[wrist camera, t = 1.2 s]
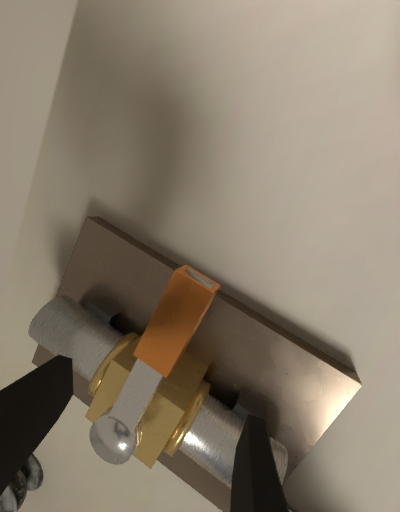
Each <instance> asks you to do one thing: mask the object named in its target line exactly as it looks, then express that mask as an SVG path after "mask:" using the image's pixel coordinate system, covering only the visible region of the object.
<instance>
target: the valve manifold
mask: <svg viewBox="0 0 400 512" xmlns="http://www.w3.org/2000/svg"><path fill="white" fill-rule="evenodd" d="M178 268H180V266H179V265H177V264H175V263H174V262H172V261H170V260H169V259H167V258H165V257H164V256H162V255H160V254H159V253H157V252H155V251H154V250H152V249H151V248H149V247H147V246H146V245H144V244H142V243H141V242H139V241H137V240H136V239H134V238H132V237H131V236H129V235H127V234H126V233H124V232H122V231H121V230H119V229H117V228H116V227H114V226H112V225H111V224H109V223H108V222H106V221H104V220H103V219H101V218H99V217H86V219H85V222H84V225H83V227H82V230H81V233H80V235H79V238H78V241H77V243H76V246H75V249H74V251H73V254H72V257H71V259H70V262H69V264H68V267H67V270H66V272H65V275H64V278H63V280H62V283H61V286H60V288H59V291H58V294H57V296H56V298H54V299H53V300H51V301H50V302H48V303H47V304H46V305H45V306H43V307H42V308H41V309H40V311H39V312H38V313H37V314H36V315H35V317H34V318H33V320H32V322H31V324H30V327H29V336H30V337H31V338H32V339H34V340H35V341H36V342H38V343H39V344H38V347H37V349H36V352H35V355H34V357H33V360H32V363H33V364H35V365H36V366H37V367H39V366H41V365H42V364H44V363H46V362H47V361H49V360H50V359H52V358H54V357H55V356H57V355H62V356H66V357H69V358H72V363H73V392H74V394H73V395H74V396H76V397H77V398H78V399H80V400H81V401H82V402H83V403H85V404H86V405H87V406H89V409H88V411H87V413H86V416H85V417H86V418H87V419H88V420H90V421H91V422H92V423H93V424H94V422H95V421H96V420H97V419H98V418H99V417H100V416H101V415H102V414H103V413H104V412H105V411H106V410H107V409H108V408H109V407H111V406H114V404H115V402H116V400H117V398H118V396H119V394H120V392H121V390H122V388H123V386H124V384H125V382H126V380H127V378H128V376H129V374H130V372H131V370H132V368H133V367H134V365H135V363H136V361H137V359H138V358H137V357H136V356H134V355H133V354H134V352H135V350H136V348H137V346H138V343H139V341H140V339H141V337H142V335H143V333H144V331H145V329H146V327H147V325H148V323H149V321H150V319H151V317H152V315H153V313H154V311H155V309H156V307H157V305H158V303H159V301H160V299H161V297H162V295H163V293H164V291H165V289H166V287H167V285H168V283H169V281H170V279H171V277H172V275H173V273H174V271H175V270H176V269H178ZM361 386H362V384H361V381H360V379H359V377H358V375H357V373H356V372H354V371H352V370H351V369H349V368H347V367H346V366H344V365H342V364H341V363H339V362H337V361H336V360H334V359H333V358H331V357H329V356H328V355H326V354H324V353H323V352H321V351H319V350H318V349H316V348H314V347H313V346H311V345H309V344H308V343H306V342H304V341H303V340H301V339H299V338H298V337H296V336H294V335H293V334H291V333H289V332H288V331H286V330H285V329H283V328H281V327H280V326H278V325H276V324H275V323H273V322H271V321H270V320H268V319H266V318H265V317H263V316H261V315H260V314H258V313H256V312H255V311H253V310H251V309H250V308H248V307H246V306H245V305H243V304H242V303H240V302H238V301H237V300H235V299H233V298H232V297H230V296H228V295H227V294H225V293H223V292H222V291H220V290H218V292H217V293H216V295H215V297H214V299H213V301H212V302H211V304H210V306H209V308H208V310H207V311H206V313H205V315H204V317H203V318H202V320H201V322H200V324H199V326H198V327H197V329H196V331H195V333H194V335H193V336H192V338H191V340H190V342H189V344H188V345H187V347H186V349H185V351H184V353H183V354H182V356H181V358H180V360H179V362H178V363H177V365H176V366H175V367H174V369H173V370H172V371H171V373H170V374H169V375H168V377H167V378H165V377H164V378H163V380H162V382H161V384H160V386H159V388H158V389H157V391H156V393H155V395H154V397H153V398H152V400H151V402H150V404H149V406H148V407H147V409H146V411H145V413H144V415H143V417H142V418H141V420H140V423H141V425H142V430H143V435H142V439H141V441H140V443H139V444H138V446H137V447H136V449H135V450H134V452H133V455H134V456H135V457H136V458H138V459H139V460H140V461H141V462H143V463H144V464H145V465H146V466H148V467H149V468H150V469H151V468H152V466H153V464H154V463H155V461H156V459H157V460H158V461H159V462H160V463H162V464H163V465H164V466H166V467H167V468H168V469H169V470H171V471H172V472H173V473H174V474H176V475H177V476H178V477H180V478H181V479H182V480H183V481H185V482H186V483H187V484H189V485H190V486H191V487H192V488H194V489H195V490H196V491H198V492H199V493H200V494H201V495H203V496H204V497H205V498H207V499H208V500H209V501H210V502H212V503H213V504H214V505H216V506H217V507H218V508H219V509H221V510H222V511H223V512H230V502H231V482H232V473H233V465H234V458H235V451H236V446H237V443H238V440H239V438H240V435H241V432H242V429H243V427H244V424H245V421H246V418H247V415H248V414H250V415H253V416H257V417H260V418H263V419H265V421H266V422H267V428H268V433H269V438H270V443H271V447H272V451H273V455H274V459H275V463H276V467H277V471H278V475H279V478H280V481H281V485H282V484H283V482H284V481H285V480H286V479H287V478H288V476H289V475H290V474H291V473H292V471H293V470H294V469H295V468H296V466H297V465H298V464H299V463H300V461H301V460H302V459H303V458H304V456H305V455H306V454H307V453H308V452H309V450H310V449H311V448H312V447H313V445H314V444H315V443H316V442H317V440H318V439H319V438H320V437H321V435H322V434H323V433H324V432H325V430H326V429H327V428H328V427H329V426H330V424H331V423H332V422H333V421H334V419H335V418H336V417H337V416H338V414H339V413H340V412H341V411H342V409H343V408H344V407H345V406H346V404H347V403H348V402H349V401H350V400H351V398H352V397H353V396H354V395H355V393H356V392H357V391H358V390H359V388H360V387H361Z"/></svg>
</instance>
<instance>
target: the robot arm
mask: <svg viewBox="0 0 400 512" xmlns="http://www.w3.org/2000/svg"><path fill="white" fill-rule="evenodd" d="M73 394H74V392H73V363H72V358H69V357H66V356H62V355H57V356H55V357H54V358H52V359H50V360H49V361H47V362H46V363H44V364H42V365H41V366H39V367H38V368H36V369H35V370H33V371H31V372H30V373H28V374H27V375H25V376H23V377H22V378H20V379H19V380H17V381H15V382H14V383H12V384H10V385H9V386H7V387H5V388H4V389H2V390H0V496H1V495H2V493H3V492H4V490H5V489H6V488H7V486H8V485H9V483H10V482H11V481H12V479H13V478H14V477H15V475H16V474H17V473H18V471H19V470H20V469H21V467H22V466H23V465H24V464H25V462H26V461H27V460H28V458H29V457H30V456H31V454H32V453H33V452H34V450H35V449H36V448H37V447H38V445H39V444H40V443H41V441H42V440H43V439H44V437H45V436H46V435H47V433H48V432H49V431H50V429H51V428H52V427H53V425H54V424H55V423H56V421H57V420H58V419H59V417H60V415H61V414H62V412H63V411H64V409H65V407H66V406H67V404H68V402H69V401H70V399H71V397H72V396H73ZM230 512H292V511H291V510H290V509H289V508H288V505H287V502H286V499H285V495H284V492H283V488H282V485H281V481H280V478H279V475H278V471H277V467H276V463H275V459H274V455H273V451H272V447H271V443H270V438H269V433H268V428H267V422H266V421H265V419H263V418H260V417H257V416H253V415H250V414H248V415H247V418H246V421H245V424H244V427H243V429H242V432H241V435H240V438H239V440H238V443H237V446H236V451H235V458H234V465H233V473H232V482H231V502H230Z"/></svg>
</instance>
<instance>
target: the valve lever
mask: <svg viewBox="0 0 400 512" xmlns="http://www.w3.org/2000/svg"><path fill="white" fill-rule="evenodd" d="M220 286H221V285H220V284H218V283H216V282H215V281H213V280H211V279H210V278H208V277H206V276H205V275H203V274H201V273H200V272H198V271H196V270H195V269H193V268H191V267H190V266H188V265H184V266H182V267H180V268H178V269H176V270H175V271H174V273H173V275H172V277H171V279H170V281H169V283H168V285H167V287H166V289H165V291H164V293H163V295H162V297H161V299H160V301H159V303H158V305H157V307H156V309H155V311H154V313H153V315H152V317H151V319H150V321H149V323H148V325H147V327H146V329H145V331H144V333H143V335H142V337H141V339H140V341H139V343H138V346H137V348H136V350H135V352H134V354H133V355H134V356H136V357H137V358H138V359H137V361H136V363H135V365H134V367H133V368H132V370H131V372H130V374H129V376H128V378H127V380H126V382H125V384H124V386H123V388H122V390H121V392H120V394H119V396H118V398H117V400H116V402H115V404H114V406H111V407H109V408H108V409H107V410H106V411H105V412H104V413H103V414H102V415H101V416H100V417H99V418H98V419H97V420H96V421H95V422H94V424H93V425H92V426H91V429H90V441H91V444H92V447H93V449H94V450H95V452H96V453H97V454H98V455H99V456H100V457H101V458H102V459H103V460H105V461H106V462H109V463H111V464H123V463H125V462H126V461H128V460H129V458H130V457H131V455H132V454H133V452H134V450H135V449H136V447H137V446H138V444H139V443H140V441H141V439H142V435H143V430H142V425H141V423H140V420H141V418H142V417H143V415H144V413H145V411H146V409H147V407H148V406H149V404H150V402H151V400H152V398H153V397H154V395H155V393H156V391H157V389H158V388H159V386H160V384H161V382H162V380H163V378H164V377H165V378H167V377H168V375H169V374H170V373H171V371H172V370H173V369H174V367H175V366H176V365H177V363H178V362H179V360H180V358H181V356H182V354H183V353H184V351H185V349H186V347H187V345H188V344H189V342H190V340H191V338H192V336H193V335H194V333H195V331H196V329H197V327H198V326H199V324H200V322H201V320H202V318H203V317H204V315H205V313H206V311H207V310H208V308H209V306H210V304H211V302H212V301H213V299H214V297H215V295H216V293H217V292H218V290H219V288H220Z"/></svg>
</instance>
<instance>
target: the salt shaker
mask: <svg viewBox="0 0 400 512" xmlns="http://www.w3.org/2000/svg"><path fill="white" fill-rule="evenodd" d="M42 482H43V471H42V468H41V465H40V464H39V462H38V460H37V459H36V458H35V456H34V455H33V454H31V456H30V457H29V458H28V460H27V461H26V462H25V464H24V465H23V466H22V467H21V469H20V470H19V471H18V473H17V474H16V475H15V477H14V478H13V479H12V481H11V482H10V483H9V485H8V486H7V488H6V489H5V490H4V492H3V493H2V495H1V496H0V512H17V511H18V510H19V508H20V507H21V505H22V503H23V501H24V499H25V497H26V492H27V490H29V491H34V490H36V489H38V488H39V487H40V486H41V484H42Z"/></svg>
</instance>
